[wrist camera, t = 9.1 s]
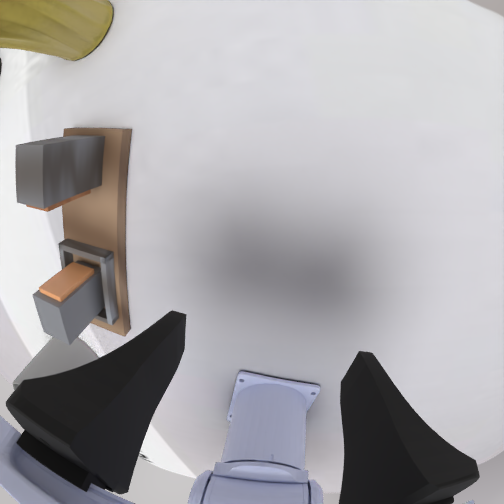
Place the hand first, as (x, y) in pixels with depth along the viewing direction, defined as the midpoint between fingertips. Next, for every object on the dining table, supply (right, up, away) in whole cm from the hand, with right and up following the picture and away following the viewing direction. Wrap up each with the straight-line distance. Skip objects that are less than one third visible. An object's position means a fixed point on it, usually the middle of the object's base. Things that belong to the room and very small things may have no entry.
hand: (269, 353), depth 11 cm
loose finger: (-15, +2, +11) cm, 18 cm away
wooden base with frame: (-14, +5, +10) cm, 18 cm away
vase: (-14, +22, +3) cm, 27 cm away
